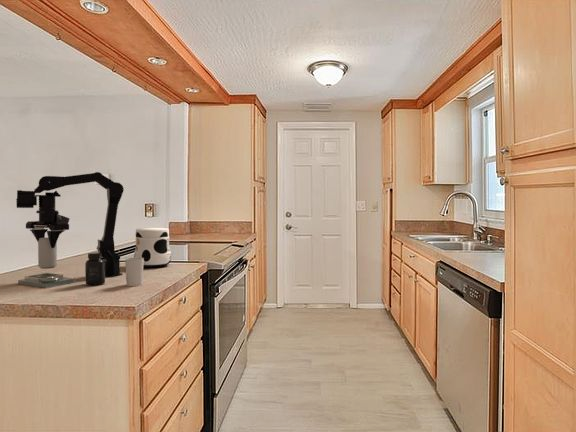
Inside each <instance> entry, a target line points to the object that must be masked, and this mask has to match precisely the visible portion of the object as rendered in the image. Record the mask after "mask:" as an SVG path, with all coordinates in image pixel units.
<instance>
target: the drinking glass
mask: <svg viewBox="0 0 576 432" xmlns="http://www.w3.org/2000/svg"><path fill="white" fill-rule="evenodd" d="M143 263H144V258H140V257H134V256H133V257H127V258H125V259H124V265H125V280H126V287H127V286H128V287H139V285H140V286H143V283H144V267H143Z"/></svg>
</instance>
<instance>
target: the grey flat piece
mask: <svg viewBox="0 0 576 432" xmlns="http://www.w3.org/2000/svg"><path fill="white" fill-rule="evenodd" d="M75 282H76V277H75V278H74V277H67V276H64V274H61V273H55V272H54V273H53V272H44V273H43V272H42V273H37V274H30V275H26V276H24V278H23V279H18V280H17V284H18V285H22V286H23V285H24V286H29V287H36V288H44V289H49V288H53V287H57V286H63V285H68V284H69V285H70V284H72V283H75Z"/></svg>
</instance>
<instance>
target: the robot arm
mask: <svg viewBox="0 0 576 432" xmlns="http://www.w3.org/2000/svg"><path fill="white" fill-rule="evenodd" d="M88 183H97V184H98V185H99V186H101V187H102V188H103V189H105V190H106V198H107V207H106V214H105V221H104V227H103V228H104V229H103V235H102V238H101V239H97V246H96V247H95V248H96V250H97V252H99V253H102V258H103V260H104V262H105V277H109V278H111V277H112V278H113V277H117V276H122V275H123V273H121V272H120V271H121V269H120V259H121V256H120V255H118V254H117V252H116V251H115V240H114V235H115V229H116V228H115V227H116V222H117V214H118V208H119V204H120V201H121V199H122V196H123V194H124V186H123V184H121V183H120V182H117V181H113V180H112V179H110V178H109V177H107V176H105V175H103V174H102V172H99V171H95V172H93V173H92V172H91V173H84V174H75V175H68V176H58V175H55V176H54V175H45V176H42V177H41V178H40V179H39V180H38V186H37V187H36V188H34V190H21V189H18V190H17V191H16V199H15V200H16V208H17V209H34V206H37V205H38V210H36V214H38V220H33V221H27V222H26V223H25V229H29V231H30V232H31V234H32V235H33V237H34V238H35V240H36V241H37V243H38V241H39V238H45V237H46V236H45V235H47V237H48V238H49V242H50V245H51V248H55V245H56V242H58V239H59V237H60V235H61V234H62V233H63V232H65V231H69V230H70V224H69V222H70V218H69V217H66V216H65V215H61V214H60V213H59V210H56V198H57V197H59V198H60V197H61V194H60V193H59V192H58V191H57V190H56V189H59V188H63V187H67V186H72V185H73V186H74V185H81V184H88ZM53 190H55V191H54V192H50V191H53ZM44 191H45V193H44V194H40V193H42V192H44ZM48 191H49V192H48ZM37 197H38V199H37ZM37 201H38V202H37Z"/></svg>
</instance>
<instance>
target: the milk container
mask: <svg viewBox="0 0 576 432" xmlns="http://www.w3.org/2000/svg"><path fill="white" fill-rule="evenodd" d="M170 248H171V247H170V228H166V227H145V228H136V229H135V250H134V254H133V258H134V257H140V258H144V263H143V268H157V267H164V266H167V265H169V264H170V263H171V261H172V253H171V249H170Z"/></svg>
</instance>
